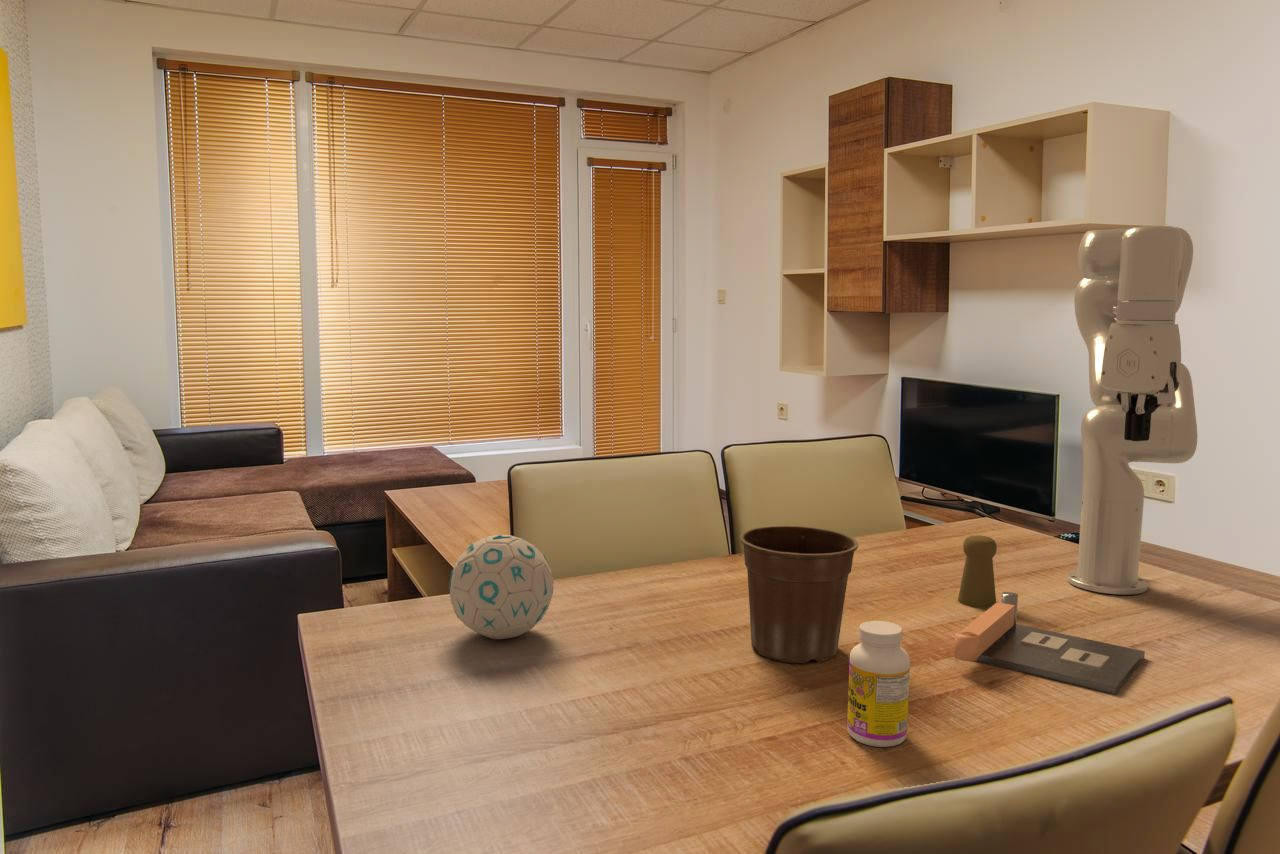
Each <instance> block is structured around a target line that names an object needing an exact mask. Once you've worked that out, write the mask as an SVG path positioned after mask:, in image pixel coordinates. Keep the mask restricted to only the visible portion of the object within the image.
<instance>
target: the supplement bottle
mask: <svg viewBox="0 0 1280 854" xmlns="http://www.w3.org/2000/svg"><path fill="white" fill-rule="evenodd" d="M858 633H859V634H858V637H859V640H860V643H858V644H856V645H855V646H854V647H853V648H852V649H851V650H850V654H849V667H848V668H849V669H848V670H849V671H848V675H849V676H848V689H847V690H848V693H847V694H848V697H847V718H846V721H847V723H846V725H847V726H846V729H847V732H848V734H849V736H850V737H851V738H852V739H854V740H855V741H857V742H858V743H861V744H862V745H863V744H864V745H866V746H869V747H877V748H888V747H895V746H897V745H900V744H902V743H903V742H905V740H906V738H907V735H908V721H909V697H910V695H909V694H910V678H911V677H910V676H911V675H910V674H911V658H910V655H909V653H908V652H907V651H906V650H905V649H904V648H903V647H901V644H902V641H903V628H902V627H901V626H900V625H898V624H896V623H893V622H891V621H883V620H870V621H864V622H862V623H860V625H859V632H858Z"/></svg>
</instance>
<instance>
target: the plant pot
mask: <svg viewBox="0 0 1280 854" xmlns="http://www.w3.org/2000/svg"><path fill="white" fill-rule="evenodd" d="M739 539H740V542H741V544H742V545H743V553H744V554H743V555H744V556H743V557H744V564H745V565H744V566H745V567H746V570H747V585H748V588H747V589H748V603H749V605H748V606H749V619H750V621H749V622H750V623H749V624H750V638H751V641H750V642H751V644H750V645H751V648H752V649H754V650H756V651H757V653H758V654H759V655H761V656H763V657H765V658H768V659H770V660H774V661H778V662H782V663H790V664H791V663H792V664H807V663H808V662H810V661H813V660H814V661H817V662H819V663H820V662H825V661H827V660H828V661H829V659H832V658H833V657H835V656H836V655H837V653H838V649H839V641H840V636H841V635H840V634H841V627H842V619H843V615H844V614H843V612H844V605H845V599H846V591H847V584H848V579H849V575H850V574H851V572H852V566H853V560H854V555H855V552H856V551H857V550H858V548H859V542H858V541H857V539H855V538H854V537H852V536H851V535H849V534H845V533H843V532H839V531H836V530H831V529H826V528H820V527H814V526H813V527H811V526H803V525H802V526H801V525H773V526H762V527H754V528H751V529H748V530H746V531H744V532H742V533H741V535H740V536H739Z"/></svg>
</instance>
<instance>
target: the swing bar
mask: <svg viewBox="0 0 1280 854" xmlns="http://www.w3.org/2000/svg"><path fill="white" fill-rule="evenodd" d="M1014 609H1015V605H1010V604H1005V603H1002V602H997V601H996V603H995V604H994V605H993V606H992V607H988V608H987V610H986V611H984V612H983V613H982V614H980V615H979V616H978V617H977V618H975V619H973V621H971V622H970V623H969V624H968V625H967V626H965V627H964V628H963V629H961V630H960V631H958V632H955V633H954V646H953V647H954V649H953V656H954V658H955V659H956V660H959V661H963V662H977V661H976V660H977V659H978V656H980V655H981V654H982V653H983V652H984V651H985V650H986V649H987V648H989V647H990V646H991V645H992V644H993V643H994V642H995V641H996V640H997V639H999V638H1000V637H1001V636H1002V635H1003V634H1004V633H1005V632H1006V631H1008V630H1009V629H1010V628H1011V627H1012V626H1013V625H1014Z"/></svg>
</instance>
